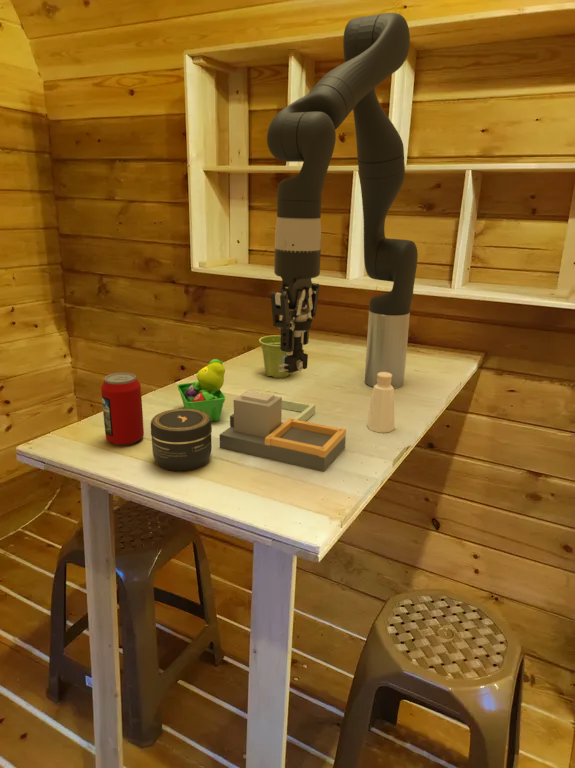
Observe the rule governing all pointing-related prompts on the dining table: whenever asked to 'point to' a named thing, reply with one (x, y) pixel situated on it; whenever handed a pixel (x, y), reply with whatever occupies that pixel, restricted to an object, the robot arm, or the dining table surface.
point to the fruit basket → (205, 390)
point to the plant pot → (273, 356)
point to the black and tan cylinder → (297, 346)
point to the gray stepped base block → (280, 434)
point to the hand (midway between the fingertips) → (294, 347)
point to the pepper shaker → (382, 405)
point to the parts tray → (299, 409)
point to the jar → (181, 439)
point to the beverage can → (122, 408)
